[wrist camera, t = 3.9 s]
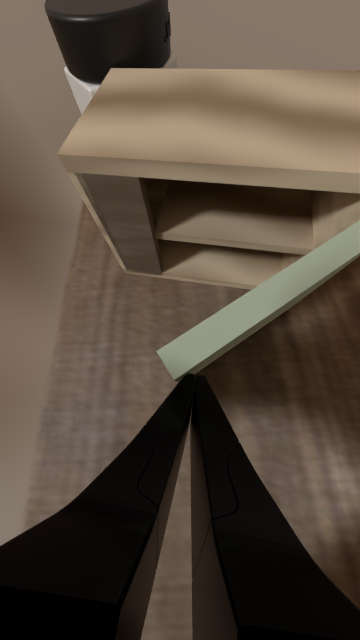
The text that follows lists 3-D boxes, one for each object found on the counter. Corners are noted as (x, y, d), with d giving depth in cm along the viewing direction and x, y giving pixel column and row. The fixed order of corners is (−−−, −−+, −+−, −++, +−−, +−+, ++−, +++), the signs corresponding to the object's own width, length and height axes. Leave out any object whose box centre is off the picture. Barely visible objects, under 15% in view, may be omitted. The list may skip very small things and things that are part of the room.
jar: (193, 188, 22) (198, -12, 11) (137, 220, 21) (79, 29, 10) (153, 154, 25) (124, -35, 14) (102, 180, 24) (22, -6, 12)
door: (293, 305, 16) (400, 225, 8) (182, 382, 14) (173, 380, 6) (284, 295, 17) (376, 209, 8) (174, 369, 15) (156, 351, 7)
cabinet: (287, 294, 17) (414, 176, 7) (124, 273, 19) (56, 154, 9) (285, 222, 20) (376, 70, 10) (145, 209, 22) (111, 67, 12)
